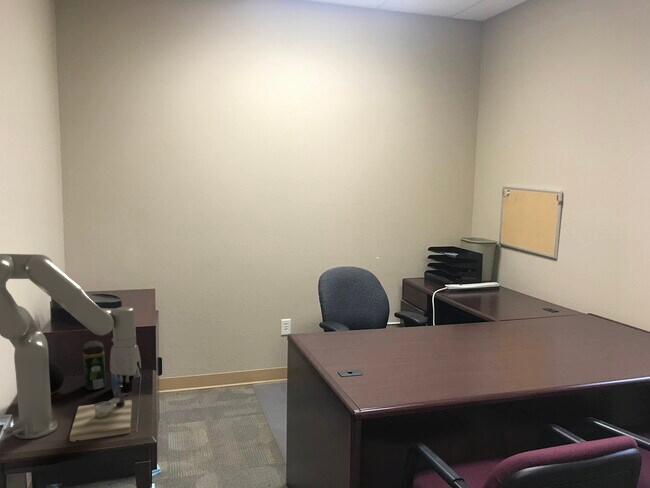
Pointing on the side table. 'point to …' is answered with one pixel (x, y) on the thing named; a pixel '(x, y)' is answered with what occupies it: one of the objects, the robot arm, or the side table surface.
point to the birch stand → (101, 422)
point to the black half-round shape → (55, 381)
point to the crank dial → (110, 403)
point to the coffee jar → (94, 365)
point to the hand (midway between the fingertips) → (127, 391)
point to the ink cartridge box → (115, 383)
